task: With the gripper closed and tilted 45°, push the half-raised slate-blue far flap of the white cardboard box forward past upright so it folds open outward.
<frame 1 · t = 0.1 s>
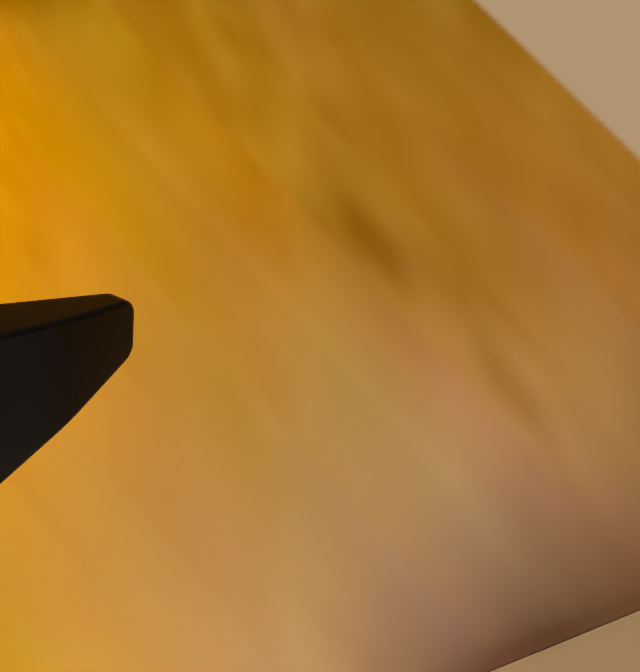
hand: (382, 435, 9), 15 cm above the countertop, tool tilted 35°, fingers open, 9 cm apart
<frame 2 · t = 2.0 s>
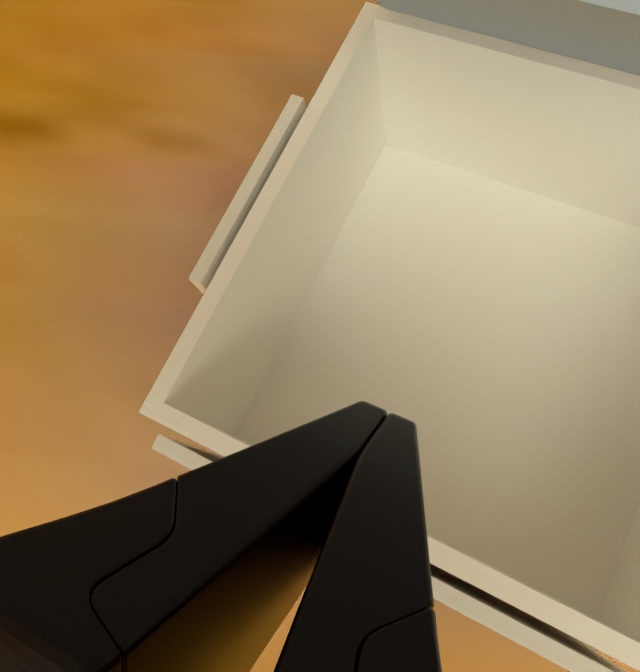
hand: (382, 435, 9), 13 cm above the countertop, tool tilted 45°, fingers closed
far flap: (602, 29, 13), point 10 cm above the countertop, hinge at 55.0°
carton: (475, 352, 22), on the countertop
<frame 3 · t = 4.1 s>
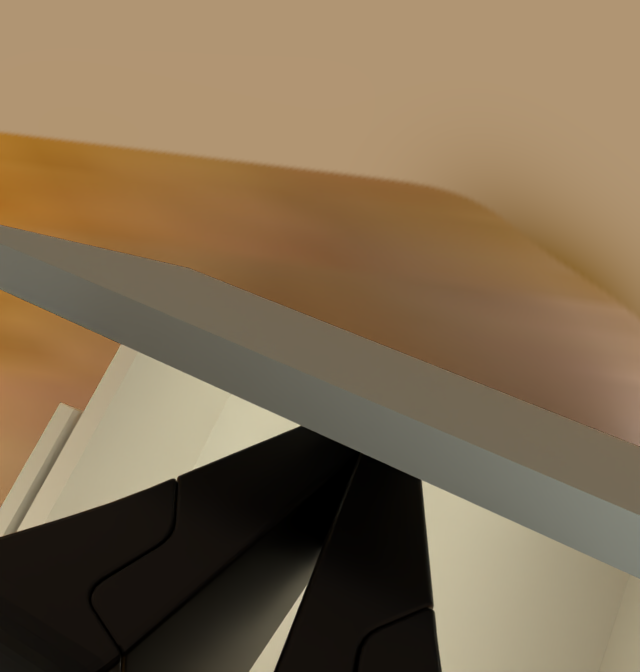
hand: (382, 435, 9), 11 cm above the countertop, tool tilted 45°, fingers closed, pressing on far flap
far flap: (410, 392, 9), point 11 cm above the countertop, hinge at 71.2°, touching gripper
carton: (339, 650, 18), on the countertop
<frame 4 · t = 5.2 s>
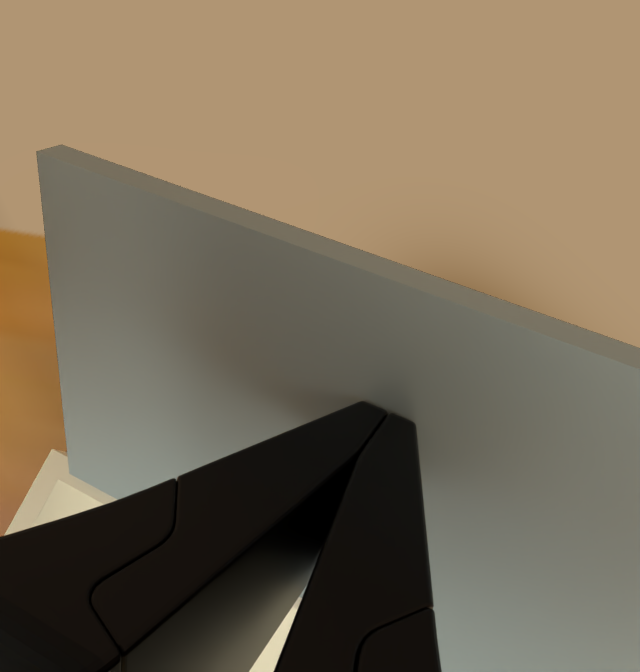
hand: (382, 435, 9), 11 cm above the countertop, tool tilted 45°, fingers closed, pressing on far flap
far flap: (374, 476, 10), point 10 cm above the countertop, hinge at 132.3°, touching carton, gripper
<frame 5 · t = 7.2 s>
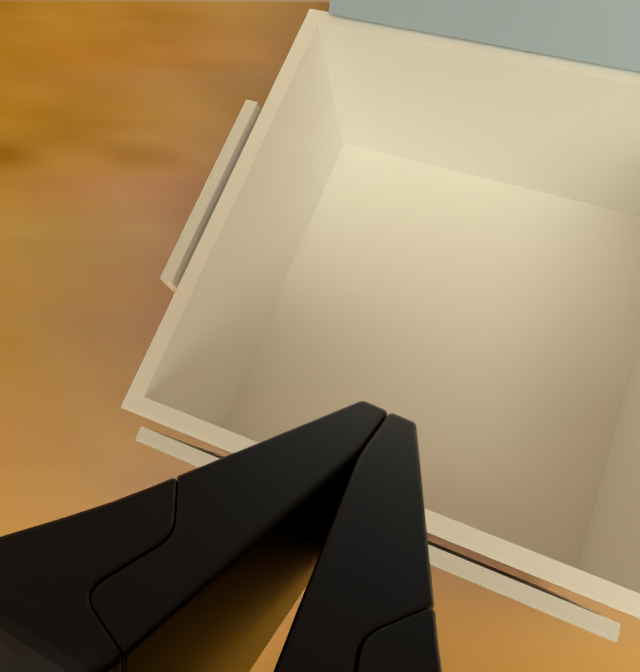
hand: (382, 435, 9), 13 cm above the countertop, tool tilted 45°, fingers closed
carton: (442, 333, 23), on the countertop
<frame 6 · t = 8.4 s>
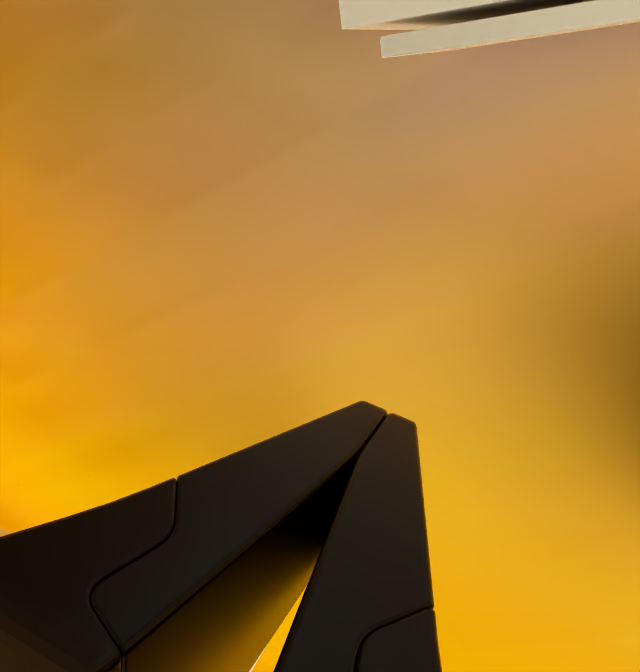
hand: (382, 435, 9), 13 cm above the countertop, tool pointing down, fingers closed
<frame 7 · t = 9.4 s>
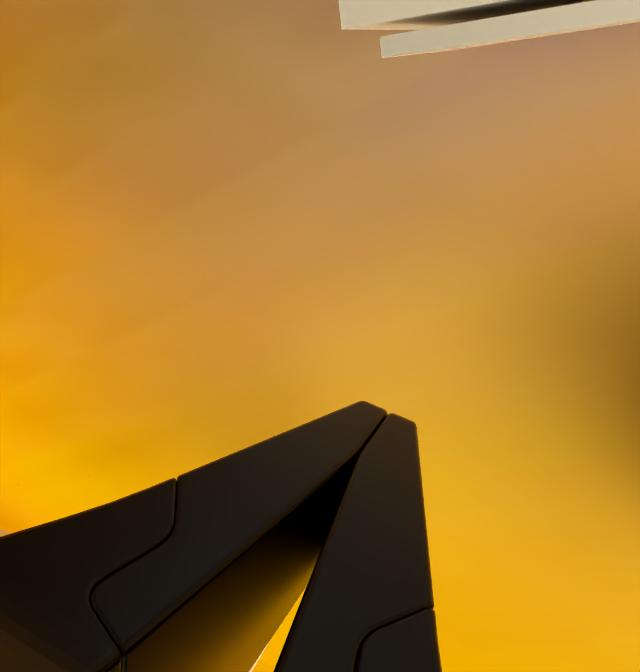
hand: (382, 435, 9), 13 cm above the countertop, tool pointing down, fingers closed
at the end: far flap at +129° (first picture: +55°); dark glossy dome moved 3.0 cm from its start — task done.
